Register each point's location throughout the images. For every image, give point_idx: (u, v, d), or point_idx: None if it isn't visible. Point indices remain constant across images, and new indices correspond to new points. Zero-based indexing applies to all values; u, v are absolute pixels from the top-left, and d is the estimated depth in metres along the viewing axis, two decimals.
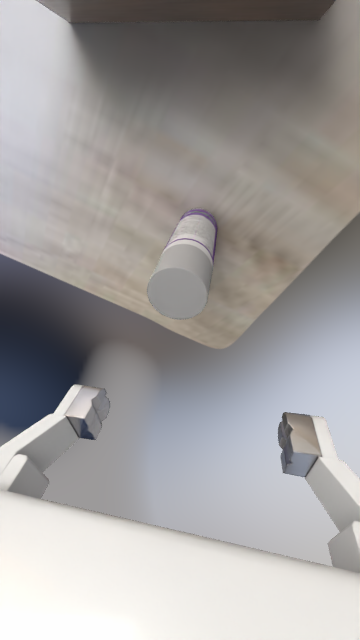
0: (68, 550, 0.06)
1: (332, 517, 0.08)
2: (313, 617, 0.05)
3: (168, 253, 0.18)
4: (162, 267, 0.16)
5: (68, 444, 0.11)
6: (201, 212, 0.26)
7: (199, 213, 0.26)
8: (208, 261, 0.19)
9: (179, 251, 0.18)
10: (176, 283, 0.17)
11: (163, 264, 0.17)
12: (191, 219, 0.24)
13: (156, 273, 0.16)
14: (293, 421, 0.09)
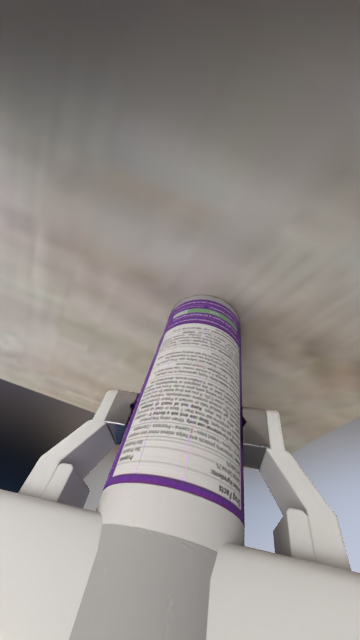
0: (68, 550, 0.06)
1: (280, 507, 0.09)
2: (313, 617, 0.05)
3: (89, 602, 0.05)
4: None
5: (106, 451, 0.10)
6: (208, 311, 0.13)
7: (204, 316, 0.13)
8: None
9: (122, 620, 0.05)
10: None
11: None
12: (186, 345, 0.11)
13: None
14: (247, 415, 0.10)
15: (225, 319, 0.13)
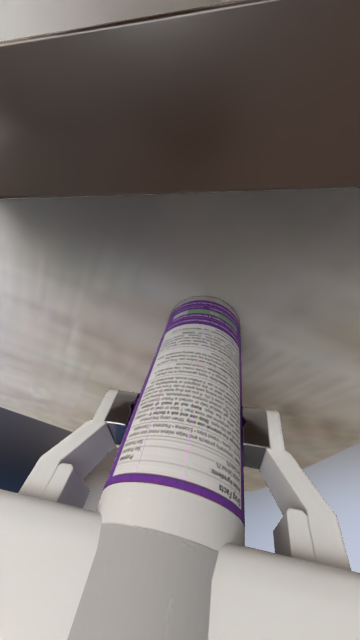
0: (68, 550, 0.06)
1: (280, 507, 0.09)
2: (313, 617, 0.05)
3: (89, 601, 0.05)
4: None
5: (106, 451, 0.10)
6: (208, 312, 0.13)
7: (204, 317, 0.13)
8: None
9: (122, 619, 0.05)
10: None
11: None
12: (186, 345, 0.11)
13: None
14: (248, 415, 0.10)
15: (225, 320, 0.13)
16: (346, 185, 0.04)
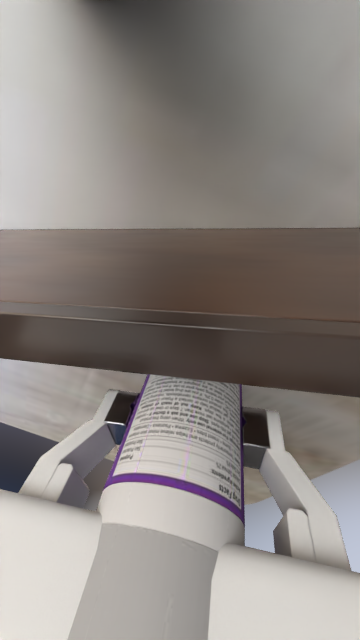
0: (68, 550, 0.06)
1: (280, 506, 0.09)
2: (313, 617, 0.05)
3: (88, 601, 0.05)
4: None
5: (106, 451, 0.10)
6: None
7: None
8: None
9: (122, 618, 0.05)
10: None
11: None
12: None
13: None
14: (248, 415, 0.10)
15: None
16: (281, 388, 0.06)
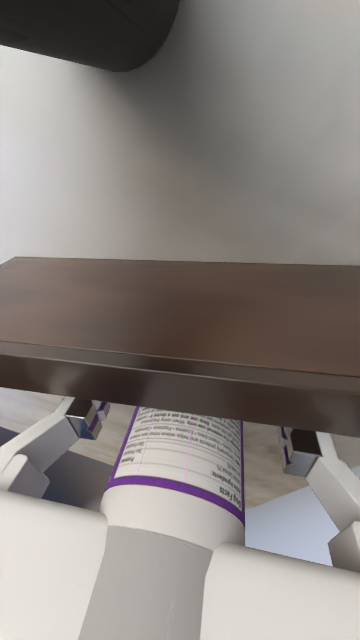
0: (68, 550, 0.06)
1: (332, 517, 0.08)
2: (313, 617, 0.05)
3: (91, 603, 0.05)
4: None
5: (68, 444, 0.11)
6: None
7: None
8: None
9: (124, 621, 0.05)
10: None
11: None
12: None
13: None
14: None
15: None
16: None
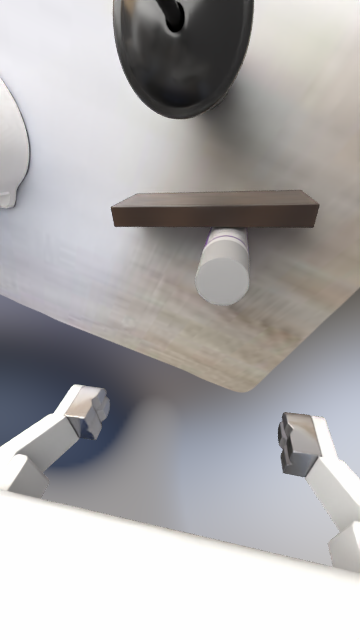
0: (68, 550, 0.06)
1: (332, 517, 0.08)
2: (313, 617, 0.05)
3: (211, 248, 0.21)
4: (208, 258, 0.19)
5: (68, 444, 0.11)
6: None
7: None
8: (246, 253, 0.21)
9: (221, 245, 0.21)
10: (221, 272, 0.19)
11: (209, 256, 0.20)
12: None
13: (204, 264, 0.19)
14: (293, 421, 0.09)
15: None
16: None
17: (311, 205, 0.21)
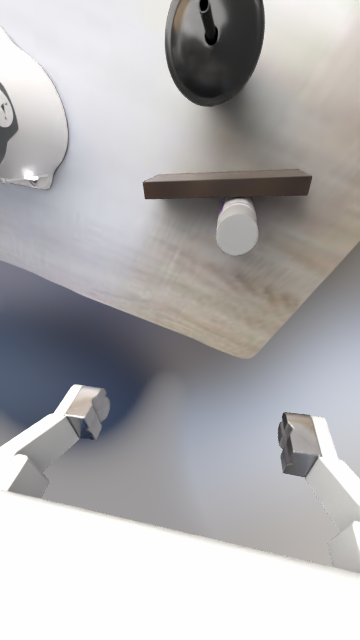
0: (68, 550, 0.06)
1: (332, 517, 0.08)
2: (313, 617, 0.05)
3: (227, 210, 0.27)
4: (227, 216, 0.25)
5: (68, 444, 0.11)
6: None
7: None
8: (255, 215, 0.27)
9: (235, 208, 0.26)
10: (237, 226, 0.25)
11: (227, 215, 0.25)
12: None
13: (223, 220, 0.25)
14: (293, 421, 0.09)
15: None
16: None
17: (305, 176, 0.27)
